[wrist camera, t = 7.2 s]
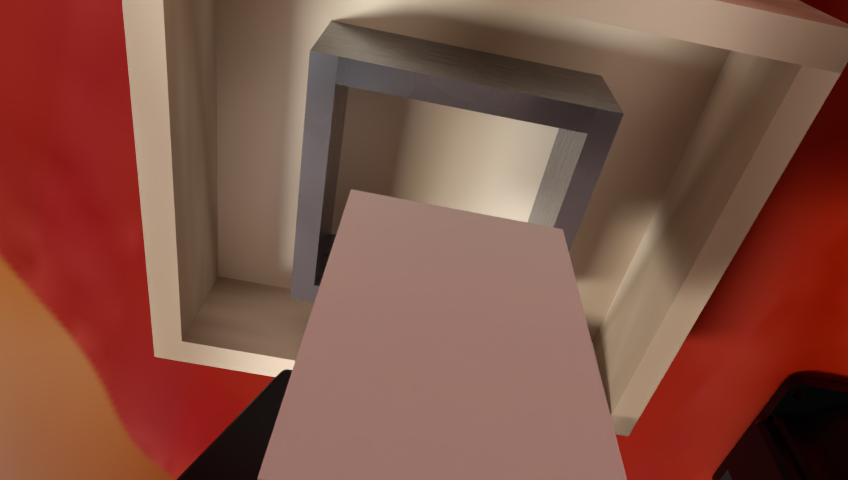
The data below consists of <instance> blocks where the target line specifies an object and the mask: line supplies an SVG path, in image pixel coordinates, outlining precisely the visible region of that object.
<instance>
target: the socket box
mask: <svg viewBox="0 0 848 480" xmlns="http://www.w3.org/2000/svg"><path fill="white" fill-rule="evenodd" d="M122 6H123V16H124V27H125V38H126V49H127V60H128V71H129V82H130V93H131V104H132V115H133V126H134V137H135V148H136V159H137V170H138V181H139V192H140V202H141V213H142V224H143V235H144V246H145V257H146V268H147V279H148V290H149V301H150V312H151V323H152V334H153V345H154V356H155V357H159V358H165V359H171V360H177V361H183V362H189V363H195V364H201V365H207V366H212V367H218V368H224V369H230V370H236V371H242V372H248V373H254V374H260V375H266V376H272V377H276V376H277V375H278V374H279V373H280V372H281V371H283V370H285V369H289V370H293V367H294V364H295V361H296V357H297V354H298V351H299V348H300V345H301V342H302V339H303V336H304V333H305V330H306V327H307V323H308V320H309V317H310V314H311V311H312V308H313V305H314V302H315V299H316V296H317V293H318V289H319V286H320V283H321V280H322V277H323V274H324V271H325V268H326V265H327V262H328V259H329V256H330V252H331V249H332V246H333V243H334V240H335V237H336V234H337V231H338V228H339V225H340V222H341V218H342V215H343V212H344V209H345V206H346V203H347V200H348V197H349V194H350V191H351V189H352V190H358V191H363V192H368V193H374V194H379V195H384V196H390V197H395V198H400V199H405V200H411V201H416V202H421V203H427V204H432V205H437V206H442V207H448V208H453V209H458V210H464V211H469V212H474V213H479V214H485V215H490V216H495V217H501V218H506V219H511V220H516V221H522V222H527V223H532V224H538V225H543V226H548V227H553V228H559V229H563V232H564V236H565V239H566V243H567V247H568V251H569V255H570V259H571V263H572V267H573V271H574V275H575V279H576V282H577V286H578V290H579V294H580V298H581V302H582V306H583V310H584V314H585V318H586V322H587V326H588V329H589V333H590V337H591V341H592V345H593V349H594V353H595V357H596V361H597V365H598V369H599V372H600V376H601V380H602V384H603V388H604V392H605V396H606V400H607V404H608V408H609V412H610V416H611V419H612V423H613V427H614V431H615V434H617V435H623V436H629V434H630V432H631V431H632V429H633V427H634V426H635V424H636V422H637V421H638V419H639V417H640V415H641V414H642V412H643V410H644V409H645V407H646V405H647V403H648V402H649V400H650V398H651V397H652V395H653V393H654V392H655V390H656V388H657V386H658V385H659V383H660V381H661V380H662V378H663V376H664V375H665V373H666V371H667V369H668V368H669V366H670V364H671V363H672V361H673V359H674V357H675V356H676V354H677V352H678V351H679V349H680V347H681V346H682V344H683V342H684V340H685V339H686V337H687V335H688V334H689V332H690V330H691V328H692V327H693V325H694V323H695V322H696V320H697V318H698V317H699V315H700V313H701V311H702V310H703V308H704V306H705V305H706V303H707V301H708V299H709V298H710V296H711V294H712V293H713V291H714V289H715V288H716V286H717V284H718V282H719V281H720V279H721V277H722V276H723V274H724V272H725V270H726V269H727V267H728V265H729V264H730V262H731V260H732V259H733V257H734V255H735V253H736V252H737V250H738V248H739V247H740V245H741V243H742V242H743V240H744V238H745V236H746V235H747V233H748V231H749V230H750V228H751V226H752V224H753V223H754V221H755V219H756V218H757V216H758V214H759V213H760V211H761V209H762V207H763V206H764V204H765V202H766V201H767V199H768V197H769V195H770V194H771V192H772V190H773V189H774V187H775V185H776V184H777V182H778V180H779V178H780V177H781V175H782V173H783V172H784V170H785V168H786V166H787V165H788V163H789V161H790V160H791V158H792V156H793V155H794V153H795V151H796V149H797V148H798V146H799V144H800V143H801V141H802V139H803V137H804V136H805V134H806V132H807V131H808V129H809V127H810V126H811V124H812V122H813V120H814V119H815V117H816V115H817V114H818V112H819V110H820V109H821V107H822V105H823V103H824V102H825V100H826V98H827V97H828V95H829V93H830V91H831V90H832V88H833V86H834V85H835V83H836V81H837V80H838V78H839V76H840V74H841V73H842V71H843V69H844V68H845V66H846V64H847V62H848V24H847V23H845V22H843V21H840V20H838V19H836V18H834V17H832V16H830V15H828V14H826V13H824V12H822V11H820V10H818V9H815V8H813V7H811V6H809V5H807V4H805V3H803V2H801V1H799V0H122Z"/></svg>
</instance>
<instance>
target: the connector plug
mask: <svg viewBox="0 0 848 480" xmlns="http://www.w3.org/2000/svg"><path fill="white" fill-rule="evenodd" d="M257 480H627V478H626V474H625V470H624V466H623V462H622V459H621V455H620V451H619V447H618V443H617V439H616V435H615V431H614V427H613V423H612V419H611V416H610V412H609V408H608V404H607V400H606V396H605V392H604V388H603V384H602V380H601V376H600V372H599V369H598V365H597V361H596V357H595V353H594V349H593V345H592V341H591V337H590V333H589V329H588V326H587V322H586V318H585V314H584V310H583V306H582V302H581V298H580V294H579V290H578V286H577V282H576V279H575V275H574V271H573V267H572V263H571V259H570V255H569V251H568V247H567V243H566V239H565V236H564V232H563V229H559V228H553V227H548V226H543V225H538V224H532V223H527V222H522V221H516V220H511V219H506V218H501V217H495V216H490V215H485V214H479V213H474V212H469V211H464V210H458V209H453V208H448V207H442V206H437V205H432V204H427V203H421V202H416V201H411V200H405V199H400V198H395V197H390V196H384V195H379V194H374V193H368V192H363V191H358V190H352V189H351V191H350V194H349V197H348V200H347V203H346V206H345V209H344V212H343V215H342V218H341V222H340V225H339V228H338V231H337V234H336V237H335V240H334V243H333V246H332V249H331V252H330V256H329V259H328V262H327V265H326V268H325V271H324V274H323V277H322V280H321V283H320V286H319V289H318V293H317V296H316V299H315V302H314V305H313V308H312V311H311V314H310V317H309V320H308V323H307V327H306V330H305V333H304V336H303V339H302V342H301V345H300V348H299V351H298V354H297V357H296V361H295V364H294V367H293V370H292V373H291V376H290V379H289V382H288V385H287V388H286V391H285V395H284V398H283V401H282V404H281V407H280V410H279V413H278V416H277V419H276V422H275V425H274V429H273V432H272V435H271V438H270V441H269V444H268V447H267V450H266V453H265V456H264V459H263V463H262V466H261V469H260V472H259V475H258V478H257Z"/></svg>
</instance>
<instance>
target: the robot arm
mask: <svg viewBox="0 0 848 480" xmlns="http://www.w3.org/2000/svg"><path fill="white" fill-rule="evenodd" d="M291 373H292V370H289V369H285V370H283V371H281V372H280V373H279V374H278V375H277V376H276V377H275V378H274V379H273V380H272V381H271V382H270V383H269V385H268V386H267V387H266V388H265V389H264V390H263V391H262V392H261V393H260V394H259V395H258V396H257V397H256V398H255V399H254V400H253V401H252V402H251V403H250V404H249V405H248V406H247V407H246V408H245V409H244V410H243V411H242V412H241V413H240V414H239V415H238V417H237V418H236V419H235V420H234V421H233V422H232V423H231V424H230V425H229V426H228V427H227V428H226V429H225V430H224V431H223V432H222V433H221V434H220V435H219V436H218V437H217V438H216V439H215V440H214V441H213V442H212V443H211V444H210V445H209V446H208V447H207V449H206V450H205V451H204V452H203V453H202V454H201V455H200V456H199V457H198V458H197V459H196V460H195V461H194V462H193V463H192V464H191V465H190V466H189V467H188V468H187V469H186V470H185V471H184V472H183V473H182V474H181V475H180V476H179V477H178V478H177V479H176V480H257V478H258V475H259V472H260V469H261V466H262V463H263V459H264V456H265V453H266V450H267V447H268V444H269V441H270V438H271V435H272V432H273V429H274V425H275V422H276V419H277V416H278V413H279V410H280V407H281V404H282V401H283V398H284V395H285V391H286V388H287V385H288V382H289V379H290V376H291ZM712 480H848V385H846V384H840V383H835V382H829V381H824V380H818V379H812V378H807V377H793V378H790V379H788V380H786V381H785V382H784V383H782V385H781V386H780V387H779V389H778V390H777V391H776V393H775V394H774V395H773V397H772V398H771V399H770V401H769V402H768V403H767V404H766V406H765V407H764V408H763V410H762V411H761V412H760V414H759V415H758V416H757V418H756V419H755V420H754V422H753V423H752V424H751V426H750V427H749V428H748V430H747V431H746V432H745V434H744V435H743V436H742V438H741V439H740V440H739V442H738V443H737V444H736V446H735V447H734V448H733V450H732V451H731V452H730V454H729V455H728V456H727V458H726V459H725V460H724V462H723V463H722V464H721V466H720V467H719V468H718V470H717V471H716V472H715V474H714V475H713V477H712Z"/></svg>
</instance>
